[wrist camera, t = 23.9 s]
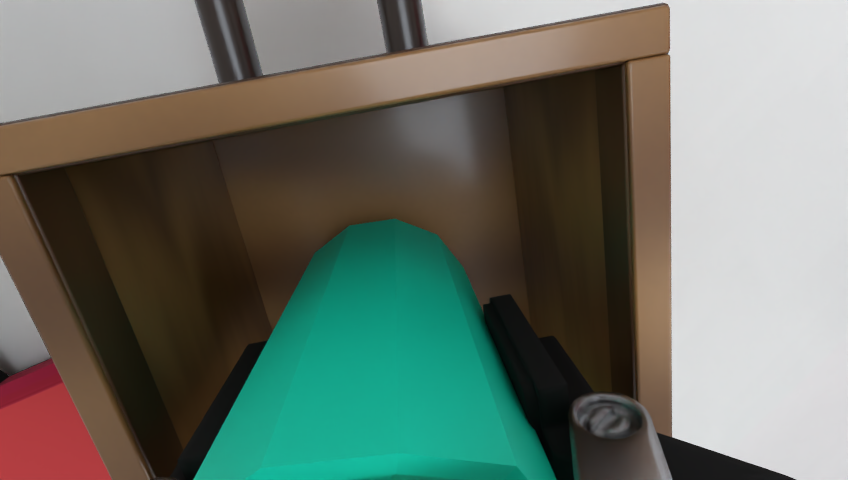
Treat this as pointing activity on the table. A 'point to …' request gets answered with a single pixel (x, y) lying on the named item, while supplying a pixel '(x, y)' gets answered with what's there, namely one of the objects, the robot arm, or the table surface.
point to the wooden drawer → (345, 207)
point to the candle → (379, 375)
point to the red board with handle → (44, 430)
